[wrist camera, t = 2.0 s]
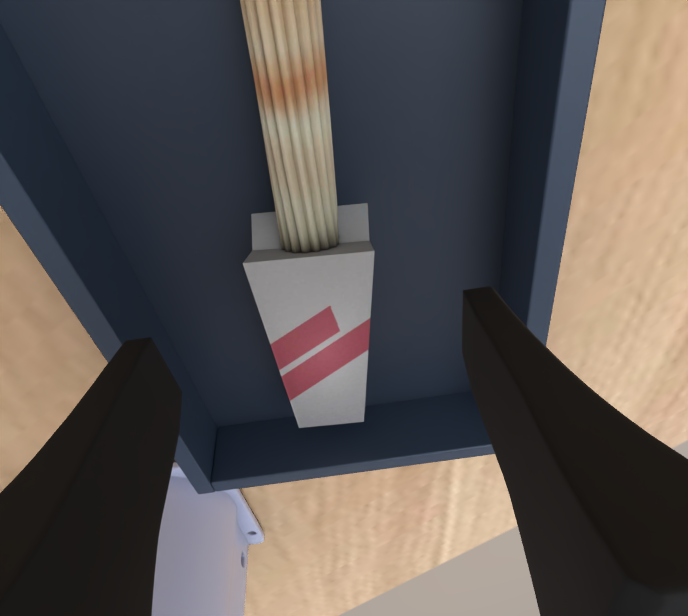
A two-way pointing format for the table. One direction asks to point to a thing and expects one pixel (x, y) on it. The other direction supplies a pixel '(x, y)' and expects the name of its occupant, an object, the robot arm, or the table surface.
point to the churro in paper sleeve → (307, 224)
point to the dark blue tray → (257, 197)
